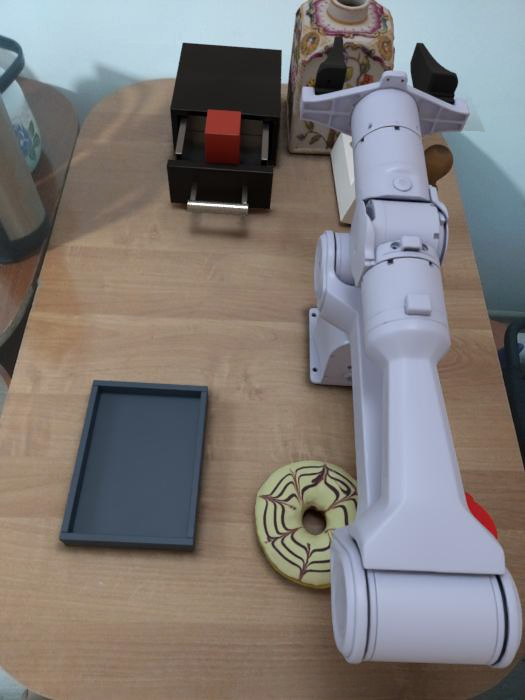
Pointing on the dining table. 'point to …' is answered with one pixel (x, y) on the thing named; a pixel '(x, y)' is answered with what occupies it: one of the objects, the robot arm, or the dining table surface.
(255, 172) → the drawer
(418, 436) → the robot arm
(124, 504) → the tray
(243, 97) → the black drawer cabinet
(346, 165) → the bracket
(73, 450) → the dining table surface
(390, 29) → the decorative jar
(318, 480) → the decorated donut
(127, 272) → the dining table surface
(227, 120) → the red block
